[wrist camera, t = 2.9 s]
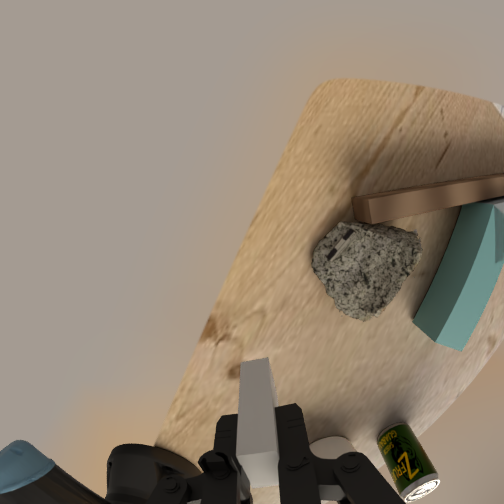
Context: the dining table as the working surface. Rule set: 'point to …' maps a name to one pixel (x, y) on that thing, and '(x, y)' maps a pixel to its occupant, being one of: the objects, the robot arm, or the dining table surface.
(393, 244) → the rock sample
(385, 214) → the walnut wall
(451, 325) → the grey teal angled block
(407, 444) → the beer can
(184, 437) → the dining table surface
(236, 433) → the robot arm
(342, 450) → the white cup
